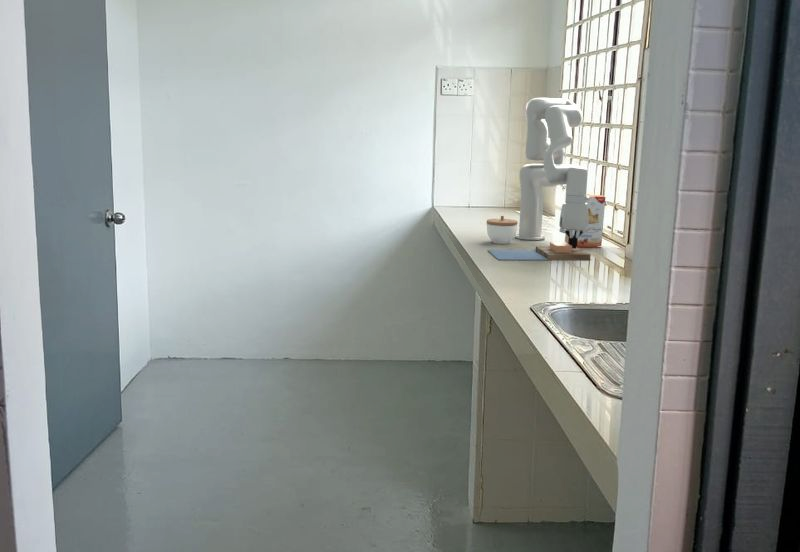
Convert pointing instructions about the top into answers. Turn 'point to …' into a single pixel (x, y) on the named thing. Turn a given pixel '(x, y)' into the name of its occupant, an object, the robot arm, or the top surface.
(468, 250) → the top surface
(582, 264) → the top surface
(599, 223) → the cracker box
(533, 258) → the mat
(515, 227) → the lidded bowl
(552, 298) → the top surface
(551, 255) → the board
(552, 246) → the block
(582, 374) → the top surface
